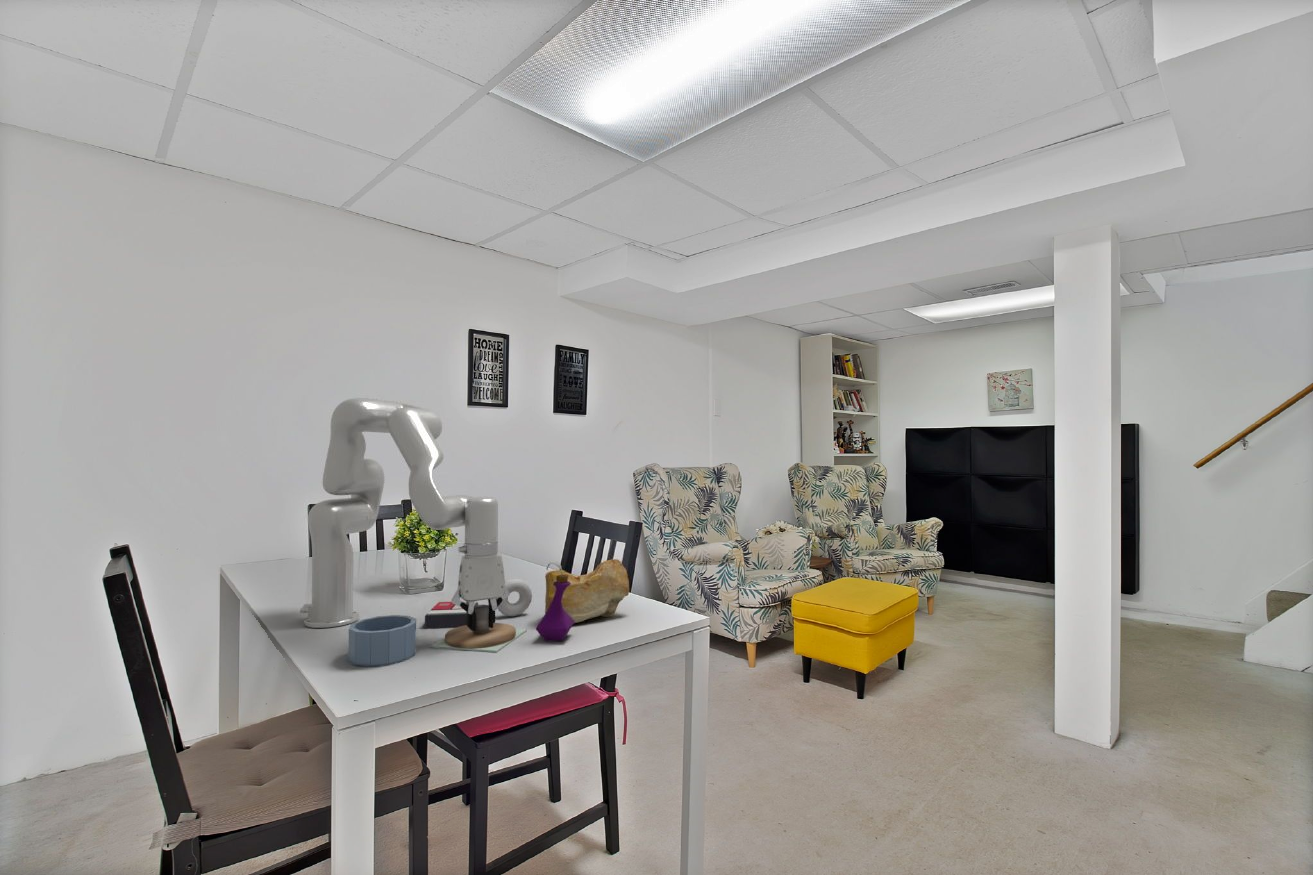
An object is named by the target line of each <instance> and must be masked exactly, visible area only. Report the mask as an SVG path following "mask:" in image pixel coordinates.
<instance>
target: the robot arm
mask: <svg viewBox="0 0 1313 875" xmlns="http://www.w3.org/2000/svg"><path fill="white" fill-rule="evenodd" d="M442 431H443V423H442V420H441V418H440V416H439V415H438V413H436V412H435V411H434V410H432V409H428V408H423V407H419V406H415V405H412V404H411V405H410V404H407V403H404V402H398V401H393V400H382V399H377V398H376V399H375V398H364V397H363V398H362V397H355V398H354V397H353V398H348V399H346V400H343V401H342V402H340V403H339V404H338V405H337V406H336V407H335V408H334V410H333V412H332V415H331V418H330V436H329V437H330V439H329V444H328V447H327V448H328V449H327V454H326V458H325V459H326V460H325V465H324V470H323V473H322V474H323V476H322V487H323V489H324V491H325V492H326V493H328V494H329V495H331V496H332V495H333V496H349V495H350V497H349V498H346V497H344V498H342V497H341V498H334V499H326V500H322V501H319V502H318V503H316V504H314V505H313V506H312V508H311V509H309V512H308V515H307V524H308V529H309V535H310V540H311V603H304V604H303V605H302V607H300V609H299V611H300V613H303V614H307V617H306V618H305V619H304V620H303V622H304V626H306V627H308V628H315V629H316V628H317V629H323V628H327V629H328V628H334V627H340V626H346V625H349V624H353V623H355V622H358V621H359V619H360V613H359V612H357V611H354V561H355V560H354V549H353V545H352V543H351V541H350V540H349V538H348V536H347V535H351V534H355V533H361V532H366V531H367V530H370V529H372V527H374V525H375V523H376V521H377V519H378V515H379V511H380V506H381V501H382V496H383V492H384V486H385V472H384V470H383V469H384V468H383V467H382V465H381V464H380V463H379V462H378V461H376V460H375V459H372V458H365V455H366V454H365V453H366V449H367V448H366V447H367V443H366V439H365V436H364V433H366V432H367V433H384V434H386V433H387V434H390V436H391V438H392V439H393V441H394V443H395V445H396V447H397V449H398V450H399V452H400V454H401V457H402V458H403V459H404V462H405V463H406V465H407V467H408V469H409V471H410V473H409V477H408V495H409V498H410V501H411V503H412V506H413V507H414V509H415V511H416V513H417V515H418V516H419V518H420V519H421V521H422V522H423V523H424V525H426V526H427V527H428V528H430V529H432V530H434V531H436V530H437V531H440V530H441V531H442V530H448V529H451V528H458V527H463V526H464V543H463V545H462V546H458V553H462V554H464V555H463V556H461V558H460V559H461V560H460V566H459V570H458V571H459V572H458V577H457V578H458V579H457V580H458V582H457V589H456V591H455V593H454V595H453V596H452V598H451V601H450V602H452V603H453V604H455V605H457V606H460V607H461V608H463V609H464V610H465V611H466V612H467V627H469V629H470V630H471V631H475V619H476V615H475V613H474V603H475V601H476V602H477V601H484V600H485V601H486V600H487V605H489V627H490V628H493V623H496V611H498V609H497V607H498V606H499V605H500V603H501V602H502V601H503V600H504V599H506V598H507V597H508V598H509V597H510V595H511V593H509V592H508V590H507V588H506V587H505V582H506V581H505V580H506V578H505V569H504V567H505V566H504V561H503V557H502V554H501V553H498V552H499V543H498V542H499V502H498V500H497V499H496V498H495V497H489V496H476V497H475V496H471V495H465V494H459V495H447V496H442V495H441V493H440V492H439V491H438V488H437V487H436V485H435V483H434V480H433V470H435V469H436V468H438V466H440V465H441V464H442V462H444V452H443V450H442V449H441V448H440V446H439V444H438V442H437V441H436V440H437V439H438V438H439V437H440V436H441V433H442ZM363 432H364V433H363ZM461 599H462V600H461ZM463 601H466V603H464V602H463Z"/></svg>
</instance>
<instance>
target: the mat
mask: <svg viewBox="0 0 1313 875" xmlns="http://www.w3.org/2000/svg"><path fill="white" fill-rule="evenodd" d="M515 629H516V636H515V638H514V639H513V640H511V641H509V642H507V643H504V644H501V645H497V646H492V647H486V648H457V647H452V646H449V645H447V644H446V643H445V637H444V638H443V639H441V640H438V642H435V643H434V644H432V645H430V648H431V649H441V650H442V649H443V650H456V651H457V650H458V651H468V652H469V651H471V652H472V651H473V652H487V653H498V652H500V651H502V649H504V648H505V647H507V646H508V645H509V644H511V643H512V642H514V641H516V640H517V639H518V638H519V637H520V636H523V634H525V633H526V632H527V631H528V630H527V629H524V628H523V629H522V628H515Z"/></svg>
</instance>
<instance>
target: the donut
mask: <svg viewBox="0 0 1313 875" xmlns="http://www.w3.org/2000/svg"><path fill="white" fill-rule="evenodd" d="M505 587H506V588H507V590H508V592H509V593H510V594H511V593H513V592H516V593H518V594H519V599H518V600H517V601H516V602H515V603H511V602H510V601H509V600H508V599H509V596H508V597H507V598H506V599H504V600H503V601H502V602H501V603H500V605H499V606H498V607H497V611H498V612H500V614H502V615H504V616H506V617H516V616H517V617H518V616H520V615H522V614H523V613H525V612H526V611H527V610H528V609H529V607H530V605H531V603H532V598H533V592H532V589H531V587H530V585H529V584H528V583H527V582H526V581H525V580H523V579H519V578H511V579H507V580H506V581H505Z"/></svg>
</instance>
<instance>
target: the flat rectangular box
mask: <svg viewBox="0 0 1313 875" xmlns="http://www.w3.org/2000/svg"><path fill="white" fill-rule="evenodd" d="M462 601H463V602H464V603H466V601H464V600H462ZM476 605H479V602H477V601H475V603H474V606H476ZM464 625H467V612H466V611H465V610H464V609H463V608H461V607H460V606H457V605H455V604H453V603H452V602H451V601H438V602H437V603H436V604H435V605H434V606H433V607H431V609H430V610H429V611H428V612H427V613H426V614H425V615H424V629H425V630H435V629H454V628H457V627H460V626H464Z"/></svg>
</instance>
